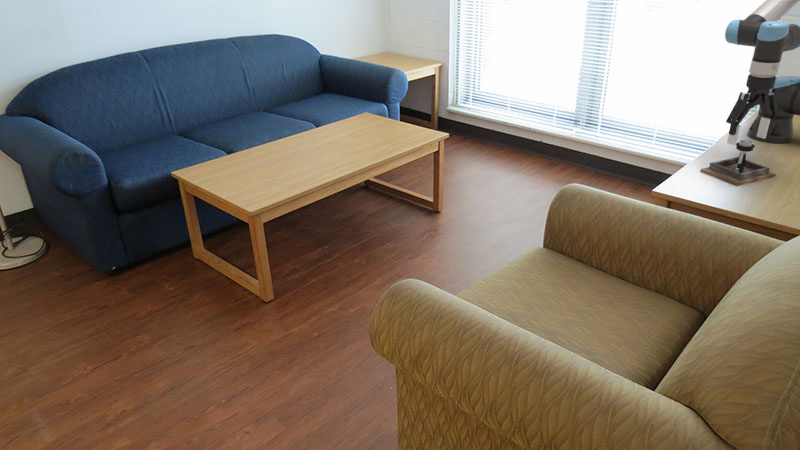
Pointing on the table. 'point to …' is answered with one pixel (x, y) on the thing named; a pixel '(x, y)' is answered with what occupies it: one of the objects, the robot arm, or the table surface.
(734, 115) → the robot arm
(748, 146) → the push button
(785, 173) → the table surface
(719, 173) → the dock
